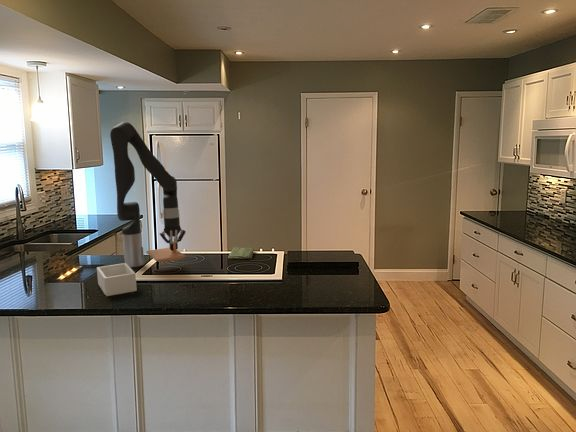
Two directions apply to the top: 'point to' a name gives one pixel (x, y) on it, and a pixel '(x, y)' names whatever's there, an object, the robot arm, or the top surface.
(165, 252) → the snap lid
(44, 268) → the top surface
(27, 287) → the top surface
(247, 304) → the top surface
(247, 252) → the washcloth
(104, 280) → the parts tub
